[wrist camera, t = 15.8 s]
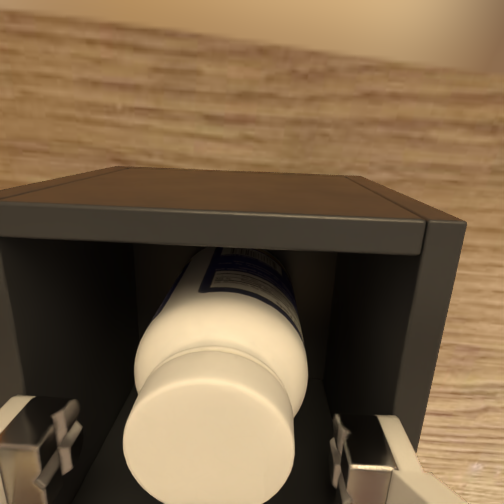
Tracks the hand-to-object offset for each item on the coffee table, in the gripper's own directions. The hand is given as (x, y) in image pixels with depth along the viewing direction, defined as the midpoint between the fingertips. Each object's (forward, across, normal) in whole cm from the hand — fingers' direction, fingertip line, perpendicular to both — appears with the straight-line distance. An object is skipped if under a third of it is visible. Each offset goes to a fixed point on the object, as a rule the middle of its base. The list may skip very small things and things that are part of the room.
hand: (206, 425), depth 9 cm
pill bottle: (+8, 0, 0) cm, 8 cm away
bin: (+8, 0, 0) cm, 9 cm away
